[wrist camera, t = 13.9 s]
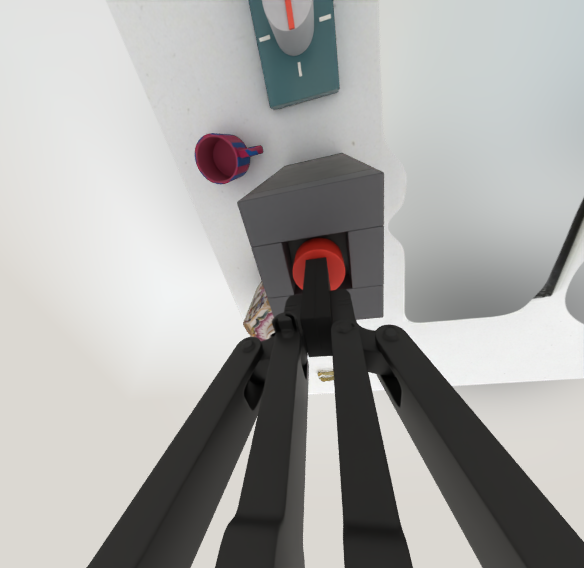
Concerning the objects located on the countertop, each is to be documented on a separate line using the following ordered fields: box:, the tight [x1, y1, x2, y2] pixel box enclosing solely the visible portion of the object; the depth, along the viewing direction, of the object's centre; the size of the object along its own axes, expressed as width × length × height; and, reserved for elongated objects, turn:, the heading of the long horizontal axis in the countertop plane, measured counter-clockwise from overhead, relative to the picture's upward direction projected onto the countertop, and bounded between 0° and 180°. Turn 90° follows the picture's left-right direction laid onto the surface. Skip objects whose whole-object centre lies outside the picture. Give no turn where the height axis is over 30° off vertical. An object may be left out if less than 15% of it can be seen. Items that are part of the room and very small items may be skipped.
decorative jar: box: [243, 282, 275, 341], centre depth 45 cm, size 12×12×18 cm
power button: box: [293, 238, 345, 290], centre depth 18 cm, size 4×4×2 cm
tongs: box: [318, 371, 334, 382], centre depth 67 cm, size 4×13×2 cm, turn 116°
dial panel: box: [249, 0, 339, 110], centre depth 30 cm, size 14×10×3 cm
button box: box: [237, 153, 384, 320], centre depth 30 cm, size 12×10×28 cm
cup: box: [195, 133, 263, 184], centre depth 37 cm, size 7×10×7 cm
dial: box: [262, 0, 314, 56], centre depth 25 cm, size 5×5×8 cm
